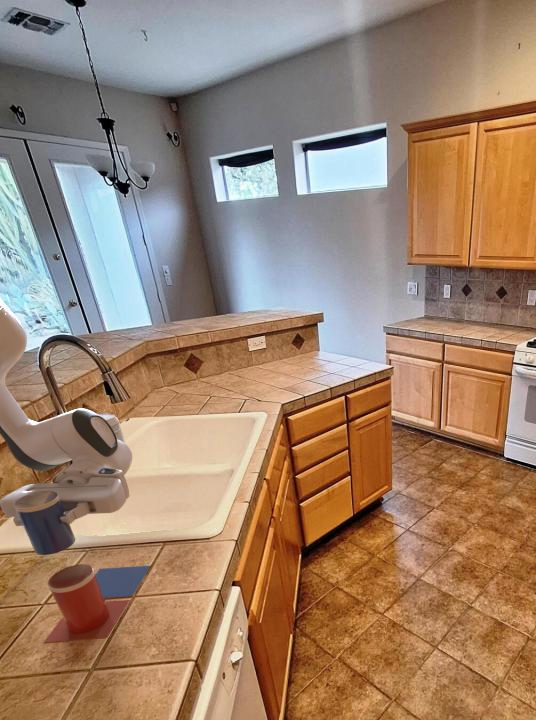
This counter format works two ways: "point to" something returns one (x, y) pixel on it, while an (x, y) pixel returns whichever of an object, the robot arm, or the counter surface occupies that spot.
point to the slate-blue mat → (120, 580)
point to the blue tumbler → (44, 522)
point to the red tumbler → (79, 598)
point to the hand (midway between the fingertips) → (42, 521)
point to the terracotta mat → (102, 631)
